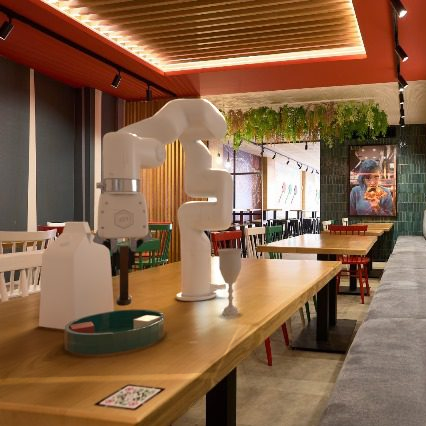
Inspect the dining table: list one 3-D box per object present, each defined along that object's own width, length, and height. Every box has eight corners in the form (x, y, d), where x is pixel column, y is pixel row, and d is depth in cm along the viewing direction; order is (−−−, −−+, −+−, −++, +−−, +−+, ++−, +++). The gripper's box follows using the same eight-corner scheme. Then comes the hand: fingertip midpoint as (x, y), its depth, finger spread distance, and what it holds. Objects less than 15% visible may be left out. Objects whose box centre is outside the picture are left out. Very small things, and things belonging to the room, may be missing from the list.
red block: (94, 344, 84) (94, 325, 84) (72, 348, 82) (72, 329, 81) (91, 339, 87) (91, 321, 87) (70, 343, 85) (70, 324, 85)
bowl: (158, 323, 102) (158, 305, 101) (171, 346, 84) (171, 325, 84) (67, 335, 92) (67, 316, 92) (61, 364, 75) (61, 340, 75)
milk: (114, 320, 105) (113, 221, 104) (75, 333, 94) (73, 223, 93) (80, 316, 109) (79, 221, 108) (38, 328, 98) (37, 222, 97)
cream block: (133, 337, 88) (133, 319, 88) (146, 332, 92) (146, 315, 92) (148, 339, 87) (148, 321, 87) (160, 333, 91) (160, 316, 91)
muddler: (130, 298, 94) (131, 242, 91) (132, 304, 92) (132, 247, 88) (115, 300, 93) (115, 243, 89) (116, 306, 90) (116, 247, 87)
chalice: (220, 312, 112) (219, 248, 112) (244, 311, 112) (244, 248, 112) (215, 319, 105) (215, 251, 104) (241, 318, 105) (241, 251, 105)
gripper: (81, 186, 83) (83, 274, 83) (162, 188, 91) (163, 268, 91) (82, 188, 89) (83, 269, 90) (157, 189, 97) (158, 264, 98)
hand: (123, 268), depth 90 cm, fingers closed on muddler
